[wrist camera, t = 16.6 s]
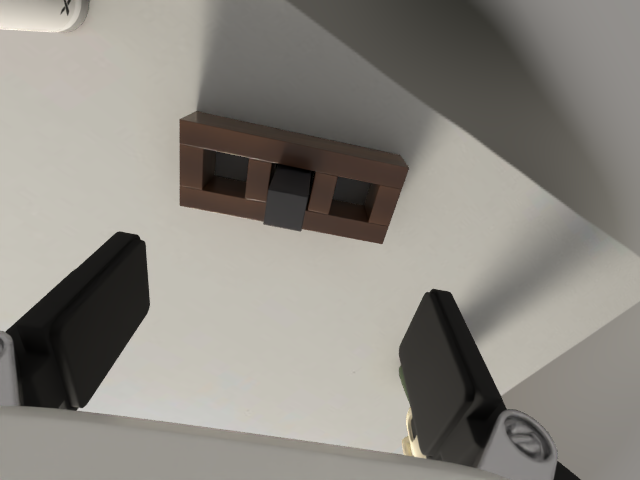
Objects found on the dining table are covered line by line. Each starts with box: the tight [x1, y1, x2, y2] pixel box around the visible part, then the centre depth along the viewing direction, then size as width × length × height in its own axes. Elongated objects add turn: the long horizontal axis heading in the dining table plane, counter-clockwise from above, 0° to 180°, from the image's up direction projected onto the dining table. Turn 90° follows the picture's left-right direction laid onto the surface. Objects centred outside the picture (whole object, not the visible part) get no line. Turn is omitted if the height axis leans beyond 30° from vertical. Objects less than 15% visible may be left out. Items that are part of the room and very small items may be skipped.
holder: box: [180, 111, 409, 244], centre depth 32 cm, size 8×19×4 cm, turn 78°
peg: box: [263, 164, 311, 231], centre depth 29 cm, size 3×3×9 cm
